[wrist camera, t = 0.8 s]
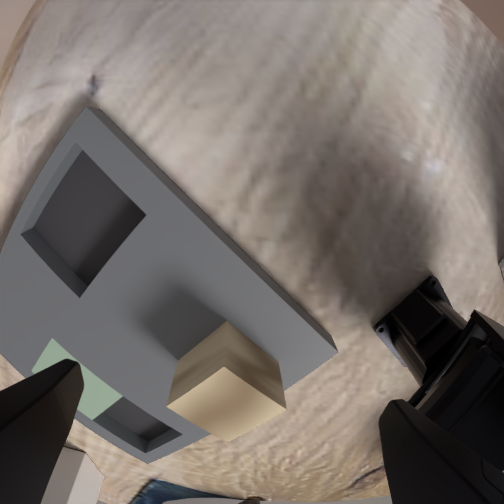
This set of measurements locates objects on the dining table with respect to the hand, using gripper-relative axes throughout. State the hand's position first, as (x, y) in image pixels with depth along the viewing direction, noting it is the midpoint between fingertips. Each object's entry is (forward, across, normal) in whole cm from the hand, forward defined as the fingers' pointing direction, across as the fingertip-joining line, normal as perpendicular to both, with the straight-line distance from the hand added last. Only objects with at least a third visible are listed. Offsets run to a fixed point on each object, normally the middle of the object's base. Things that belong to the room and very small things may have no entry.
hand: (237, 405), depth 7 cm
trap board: (+13, +9, +8) cm, 18 cm away
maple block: (+11, 0, +8) cm, 13 cm away
